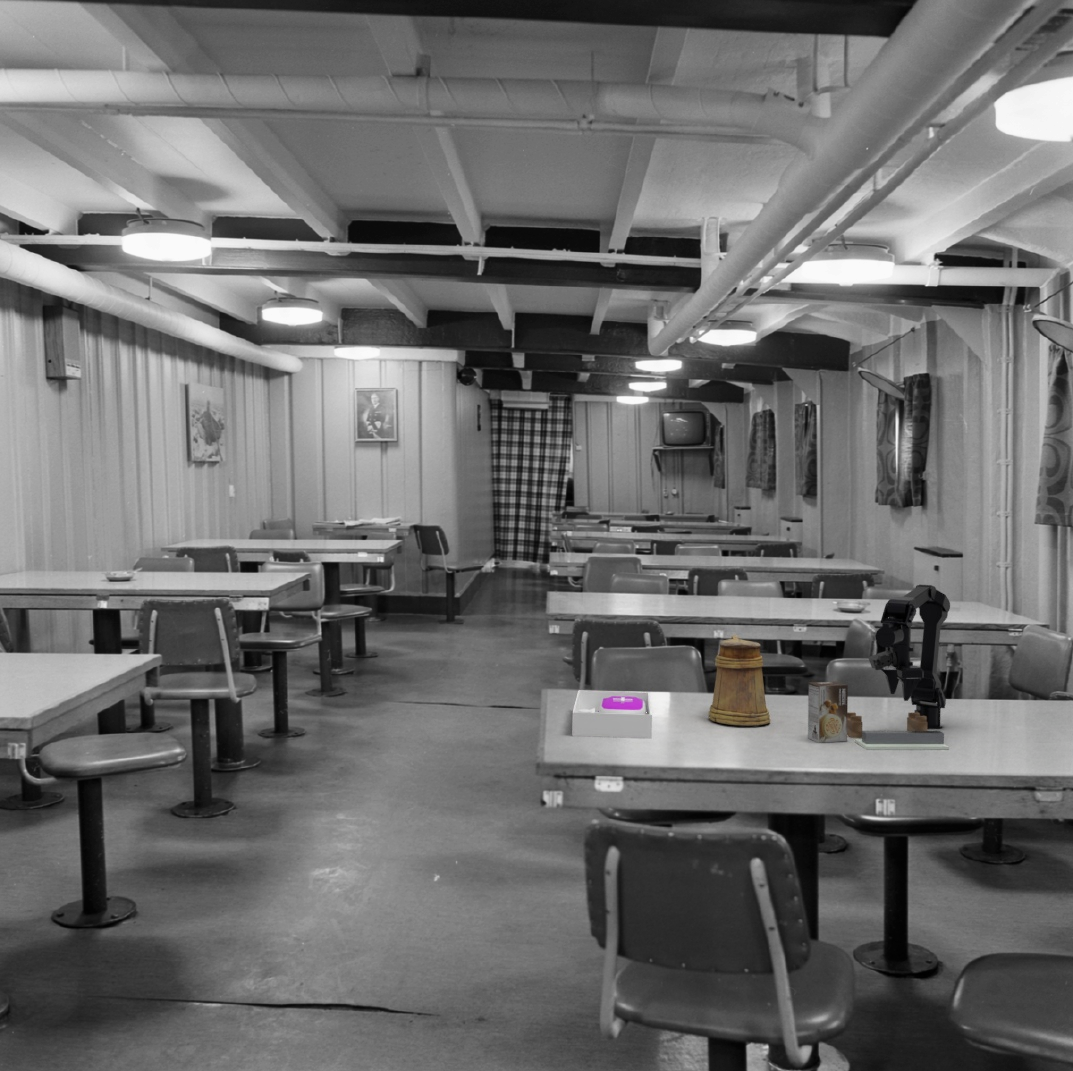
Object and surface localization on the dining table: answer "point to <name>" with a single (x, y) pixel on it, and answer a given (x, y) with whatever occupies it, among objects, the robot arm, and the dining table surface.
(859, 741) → the pad
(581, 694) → the light grey open box
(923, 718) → the post
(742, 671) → the tankard
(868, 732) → the rail
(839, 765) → the dining table surface
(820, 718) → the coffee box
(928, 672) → the robot arm
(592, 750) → the dining table surface
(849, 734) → the post
